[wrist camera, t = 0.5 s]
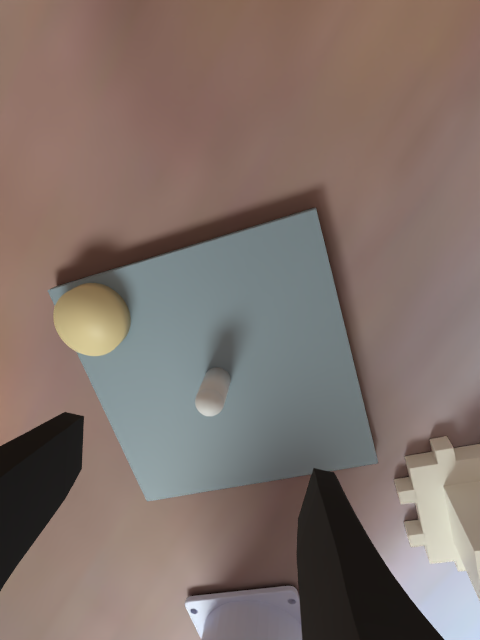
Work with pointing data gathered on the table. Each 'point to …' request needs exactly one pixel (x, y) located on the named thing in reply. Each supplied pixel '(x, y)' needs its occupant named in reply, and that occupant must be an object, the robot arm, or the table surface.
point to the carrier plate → (222, 360)
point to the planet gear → (445, 505)
